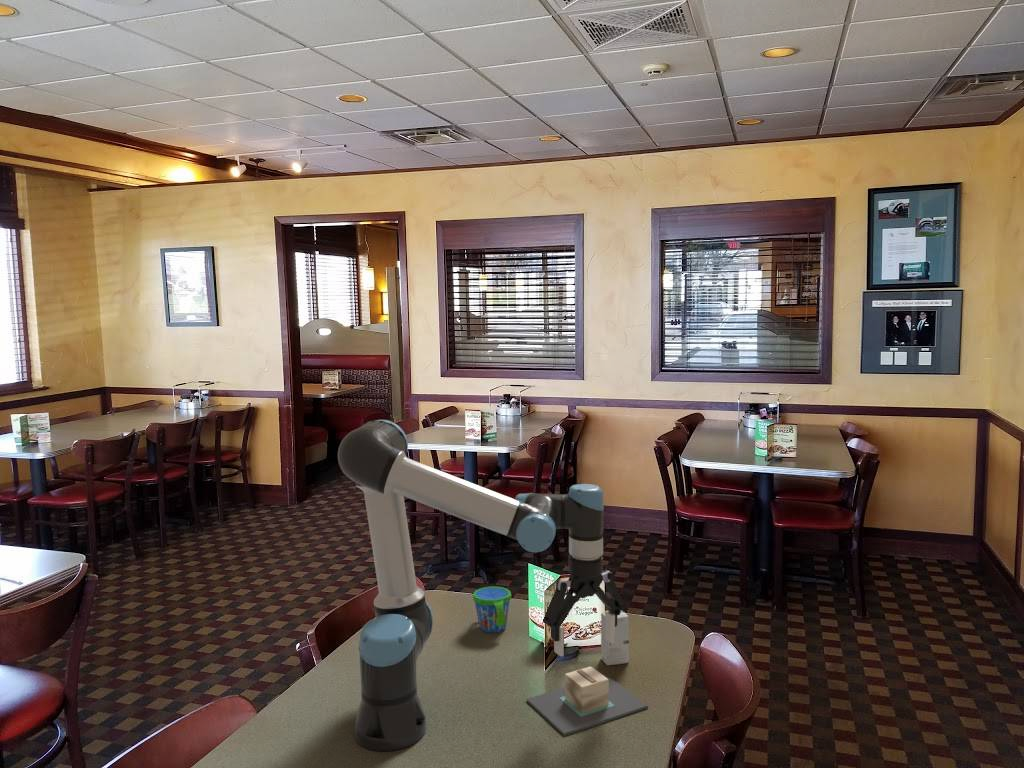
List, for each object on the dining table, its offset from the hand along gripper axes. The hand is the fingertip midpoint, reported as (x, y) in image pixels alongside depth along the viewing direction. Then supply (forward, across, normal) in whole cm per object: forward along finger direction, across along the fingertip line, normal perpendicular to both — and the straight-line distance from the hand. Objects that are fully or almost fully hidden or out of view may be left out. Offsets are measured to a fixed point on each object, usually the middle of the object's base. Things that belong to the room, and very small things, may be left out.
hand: (584, 647), depth 167 cm
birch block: (+13, 0, 0) cm, 13 cm away
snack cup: (+14, 0, -47) cm, 49 cm away
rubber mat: (+13, 0, 0) cm, 13 cm away
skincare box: (+14, -18, -14) cm, 27 cm away
